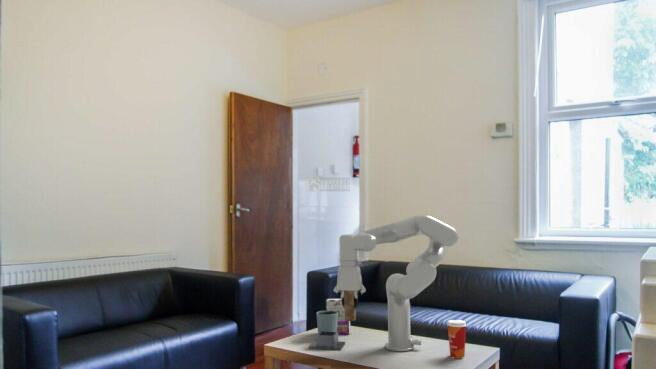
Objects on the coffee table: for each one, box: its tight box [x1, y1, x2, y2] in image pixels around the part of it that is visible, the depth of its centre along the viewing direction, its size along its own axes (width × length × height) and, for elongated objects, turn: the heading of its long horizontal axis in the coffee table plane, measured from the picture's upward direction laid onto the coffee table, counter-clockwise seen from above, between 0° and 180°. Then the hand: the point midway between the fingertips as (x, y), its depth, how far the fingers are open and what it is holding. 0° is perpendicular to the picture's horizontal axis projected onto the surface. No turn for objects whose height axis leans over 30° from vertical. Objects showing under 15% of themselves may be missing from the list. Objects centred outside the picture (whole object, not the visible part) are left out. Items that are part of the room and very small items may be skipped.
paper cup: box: [446, 319, 467, 359], centre depth 202 cm, size 8×8×14 cm
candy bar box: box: [325, 298, 351, 336], centre depth 241 cm, size 11×5×16 cm, turn 80°
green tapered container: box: [316, 310, 338, 334], centre depth 231 cm, size 10×10×12 cm
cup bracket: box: [308, 331, 346, 351], centre depth 218 cm, size 14×10×6 cm
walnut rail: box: [344, 290, 357, 322], centre depth 211 cm, size 4×4×14 cm
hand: (350, 306), depth 210 cm, fingers closed on walnut rail, 4 cm apart
